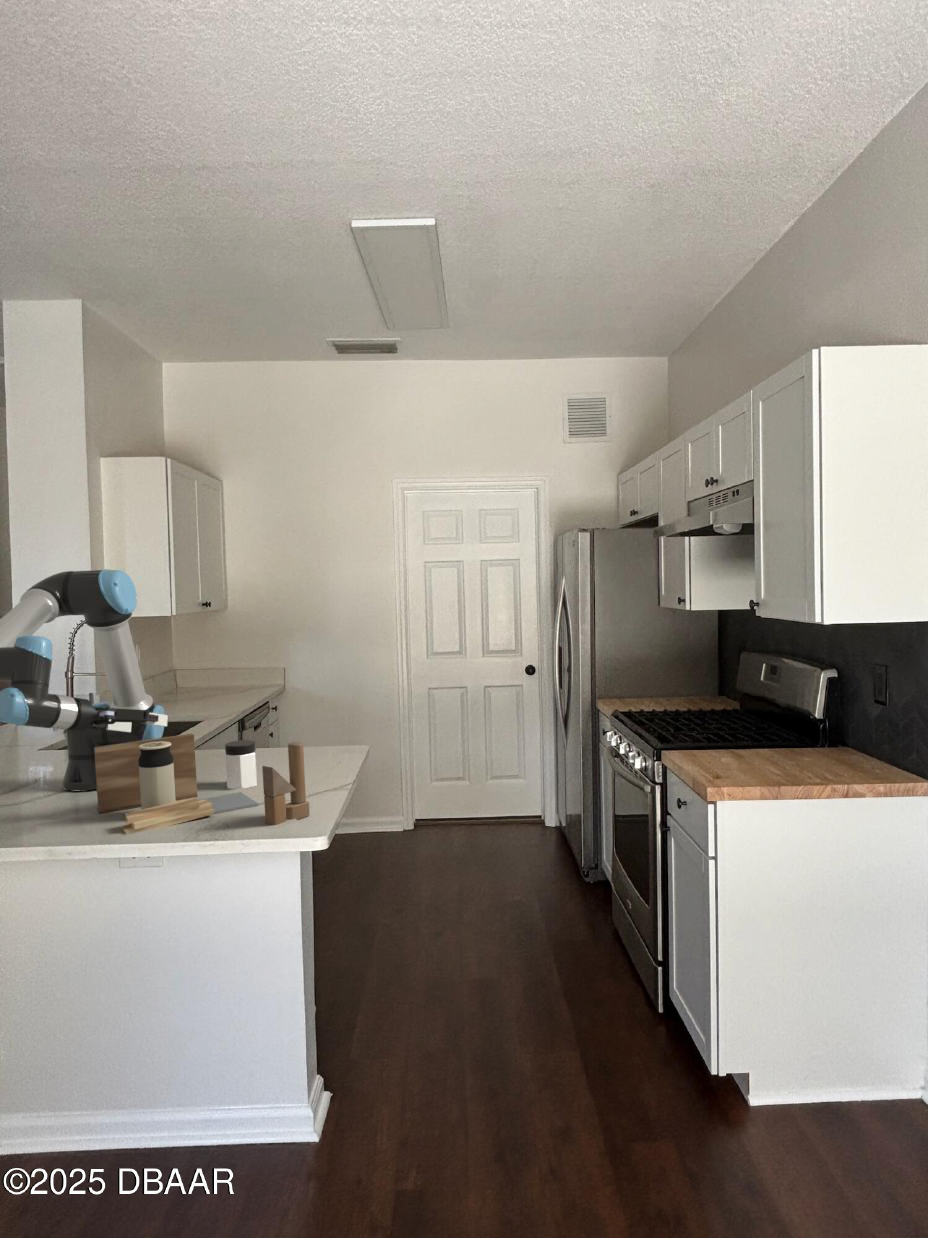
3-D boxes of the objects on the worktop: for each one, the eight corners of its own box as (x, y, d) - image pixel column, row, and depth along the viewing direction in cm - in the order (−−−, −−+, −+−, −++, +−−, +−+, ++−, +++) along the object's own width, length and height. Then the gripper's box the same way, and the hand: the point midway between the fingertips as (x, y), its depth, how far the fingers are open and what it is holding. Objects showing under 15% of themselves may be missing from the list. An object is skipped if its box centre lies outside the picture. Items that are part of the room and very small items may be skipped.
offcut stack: (121, 831, 194) (119, 815, 193) (207, 809, 205) (205, 793, 204) (127, 837, 189) (124, 820, 189) (214, 814, 200) (212, 798, 199)
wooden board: (97, 813, 209) (92, 746, 208) (194, 796, 222) (190, 732, 221) (99, 816, 206) (95, 748, 205) (197, 799, 219) (193, 734, 218)
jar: (220, 788, 229) (217, 745, 228) (236, 781, 237) (234, 739, 236) (248, 790, 226) (246, 746, 226) (264, 782, 234) (262, 740, 233)
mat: (187, 806, 213) (186, 801, 213) (240, 796, 220) (240, 792, 220) (202, 819, 201) (202, 814, 201) (258, 808, 209) (258, 803, 209)
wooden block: (264, 825, 194) (260, 749, 193) (300, 814, 202) (296, 740, 201) (275, 828, 192) (271, 751, 191) (310, 816, 200) (306, 742, 199)
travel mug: (156, 823, 199) (151, 749, 198) (135, 819, 203) (130, 746, 202) (183, 814, 206) (179, 742, 204) (162, 810, 210) (158, 740, 209)
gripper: (34, 735, 193) (114, 744, 211) (101, 724, 181) (181, 734, 198) (38, 703, 195) (117, 714, 213) (104, 690, 183) (183, 702, 200)
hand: (148, 724), depth 205 cm, fingers open, 13 cm apart
